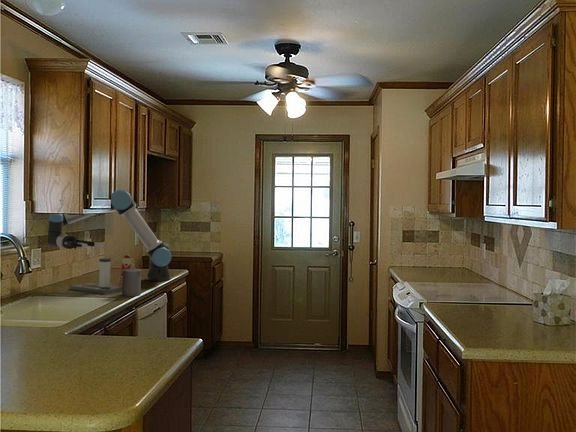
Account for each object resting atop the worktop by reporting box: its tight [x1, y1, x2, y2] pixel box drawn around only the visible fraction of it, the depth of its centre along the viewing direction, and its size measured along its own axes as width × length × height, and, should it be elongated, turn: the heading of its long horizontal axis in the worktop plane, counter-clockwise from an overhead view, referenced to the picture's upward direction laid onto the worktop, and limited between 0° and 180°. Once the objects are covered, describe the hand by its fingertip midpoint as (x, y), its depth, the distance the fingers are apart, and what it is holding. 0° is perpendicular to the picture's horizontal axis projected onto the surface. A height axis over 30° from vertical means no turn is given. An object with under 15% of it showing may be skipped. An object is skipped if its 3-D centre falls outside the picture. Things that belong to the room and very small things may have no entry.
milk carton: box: [117, 252, 136, 287], centre depth 334 cm, size 9×9×20 cm
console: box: [69, 282, 122, 295], centre depth 318 cm, size 26×14×2 cm, turn 64°
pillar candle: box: [121, 268, 142, 297], centre depth 307 cm, size 10×10×15 cm
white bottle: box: [98, 257, 112, 287], centre depth 315 cm, size 4×4×16 cm
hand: (95, 246), depth 319 cm, fingers open, 13 cm apart
